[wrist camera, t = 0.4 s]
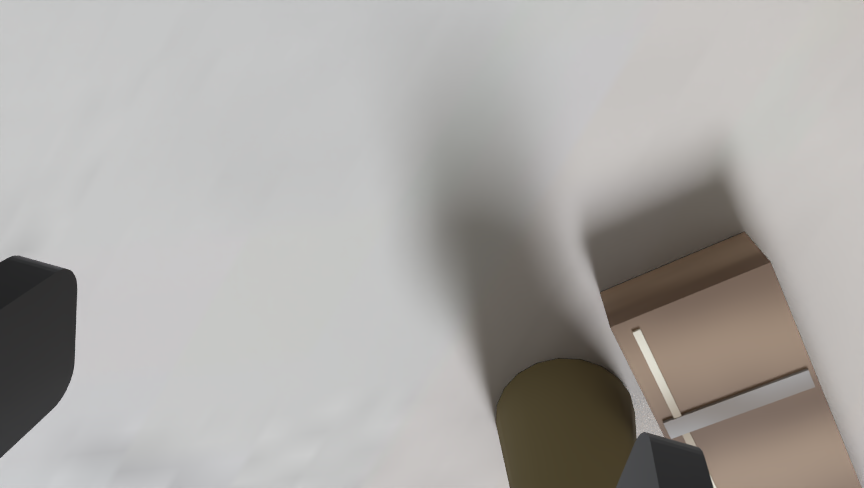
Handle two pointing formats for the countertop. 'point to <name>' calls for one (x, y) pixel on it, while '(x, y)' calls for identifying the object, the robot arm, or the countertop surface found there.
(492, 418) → the countertop surface
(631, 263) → the countertop surface
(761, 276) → the walnut plank
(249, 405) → the countertop surface
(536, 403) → the cork
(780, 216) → the countertop surface
